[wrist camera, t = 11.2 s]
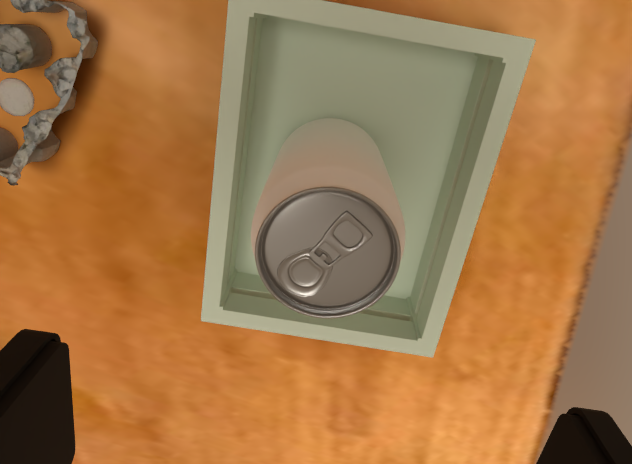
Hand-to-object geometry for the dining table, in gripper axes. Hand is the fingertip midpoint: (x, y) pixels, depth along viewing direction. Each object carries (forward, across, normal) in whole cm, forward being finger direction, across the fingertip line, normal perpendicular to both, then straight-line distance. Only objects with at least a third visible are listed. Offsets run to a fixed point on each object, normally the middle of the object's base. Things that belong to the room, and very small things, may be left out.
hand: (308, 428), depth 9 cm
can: (+22, 0, +1) cm, 22 cm away
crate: (+22, -2, +1) cm, 23 cm away
